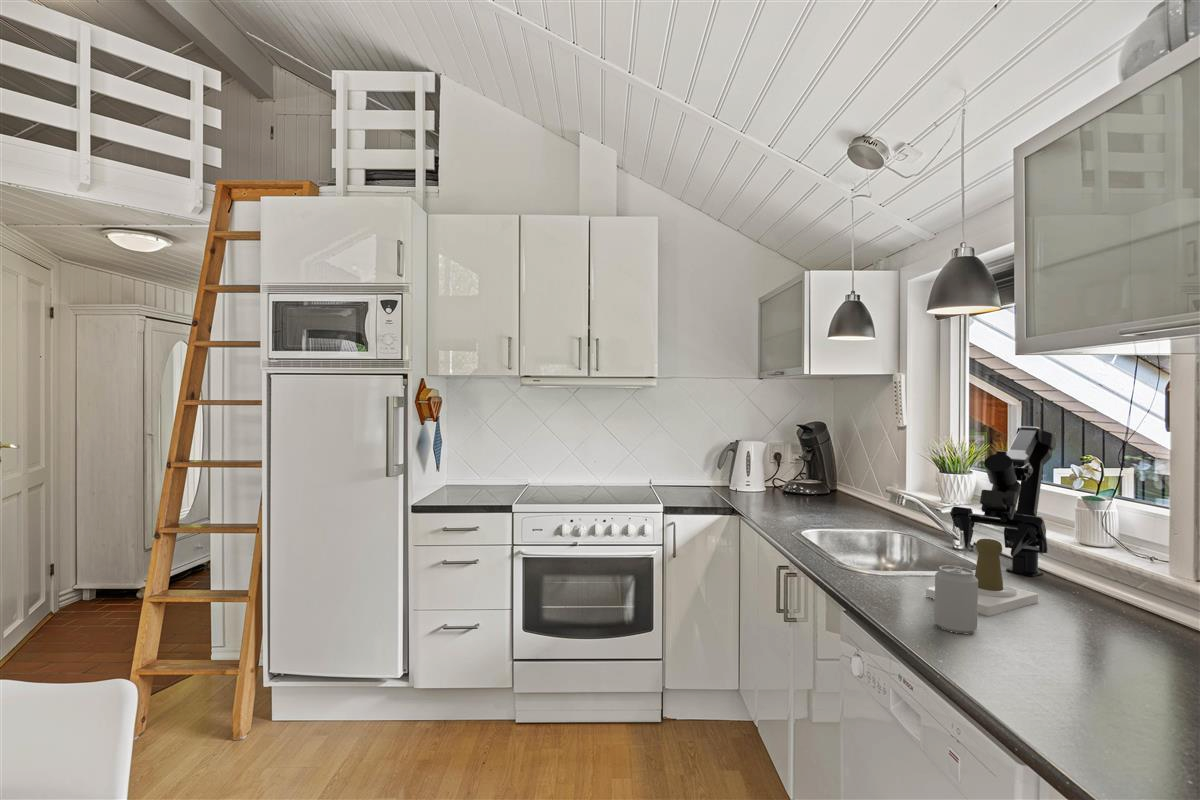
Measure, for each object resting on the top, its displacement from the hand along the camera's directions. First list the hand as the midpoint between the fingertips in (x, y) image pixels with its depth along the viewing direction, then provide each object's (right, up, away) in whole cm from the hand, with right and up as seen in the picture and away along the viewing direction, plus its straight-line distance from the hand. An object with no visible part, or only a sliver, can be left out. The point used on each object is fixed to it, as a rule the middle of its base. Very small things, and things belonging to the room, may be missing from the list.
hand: (988, 551), depth 144 cm
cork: (0, -8, 0) cm, 9 cm away
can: (-19, -11, -19) cm, 29 cm away
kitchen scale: (-2, -11, -1) cm, 11 cm away
